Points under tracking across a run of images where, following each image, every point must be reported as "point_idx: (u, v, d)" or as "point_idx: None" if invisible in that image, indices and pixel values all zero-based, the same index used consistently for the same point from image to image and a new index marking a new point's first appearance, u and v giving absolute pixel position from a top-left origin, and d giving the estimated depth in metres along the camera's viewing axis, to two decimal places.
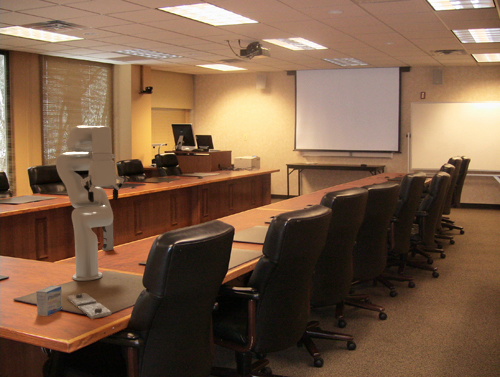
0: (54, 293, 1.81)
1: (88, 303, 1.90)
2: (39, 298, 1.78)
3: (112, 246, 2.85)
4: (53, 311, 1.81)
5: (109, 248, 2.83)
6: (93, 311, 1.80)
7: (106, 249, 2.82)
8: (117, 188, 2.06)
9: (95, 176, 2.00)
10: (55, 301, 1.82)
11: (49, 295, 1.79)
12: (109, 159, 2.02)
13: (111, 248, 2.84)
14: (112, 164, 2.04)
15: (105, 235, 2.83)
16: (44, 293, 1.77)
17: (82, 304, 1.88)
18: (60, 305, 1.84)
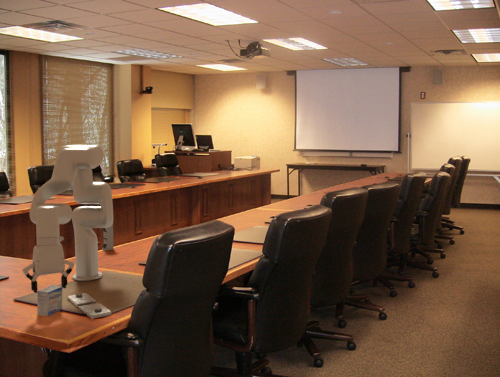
0: (55, 294, 1.81)
1: (88, 303, 1.90)
2: (40, 298, 1.78)
3: (112, 246, 2.85)
4: (53, 311, 1.81)
5: (109, 248, 2.83)
6: (93, 311, 1.80)
7: (106, 249, 2.82)
8: (66, 275, 1.83)
9: (39, 263, 1.76)
10: (56, 301, 1.82)
11: (50, 296, 1.79)
12: (56, 244, 1.78)
13: (111, 248, 2.84)
14: (60, 248, 1.80)
15: (105, 235, 2.83)
16: (45, 293, 1.77)
17: (82, 304, 1.88)
18: (60, 305, 1.84)
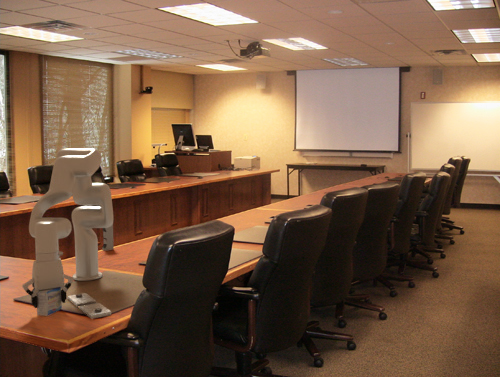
0: (54, 293, 1.81)
1: (88, 303, 1.90)
2: (39, 298, 1.78)
3: (112, 246, 2.85)
4: (53, 311, 1.81)
5: (109, 248, 2.83)
6: (93, 311, 1.80)
7: (106, 249, 2.82)
8: (65, 289, 1.83)
9: (38, 279, 1.77)
10: (55, 301, 1.82)
11: (49, 295, 1.79)
12: (55, 259, 1.79)
13: (111, 248, 2.84)
14: (59, 264, 1.81)
15: (105, 235, 2.83)
16: (44, 293, 1.77)
17: (82, 304, 1.88)
18: (60, 305, 1.84)
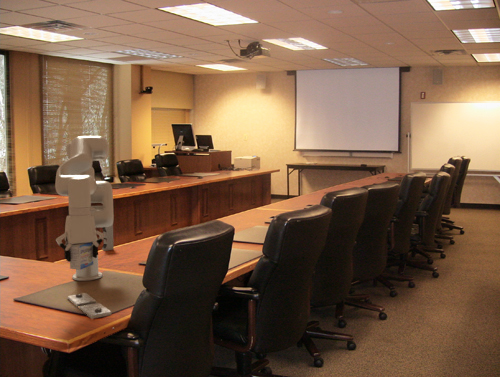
0: (86, 248, 1.85)
1: (88, 303, 1.90)
2: (72, 252, 1.82)
3: (112, 246, 2.85)
4: (85, 265, 1.85)
5: (109, 248, 2.83)
6: (93, 311, 1.80)
7: (106, 249, 2.82)
8: (97, 245, 1.87)
9: (71, 233, 1.81)
10: (87, 255, 1.86)
11: (82, 249, 1.83)
12: (87, 214, 1.82)
13: (111, 248, 2.84)
14: (91, 219, 1.84)
15: (105, 235, 2.83)
16: (77, 247, 1.81)
17: (82, 304, 1.88)
18: (91, 260, 1.88)
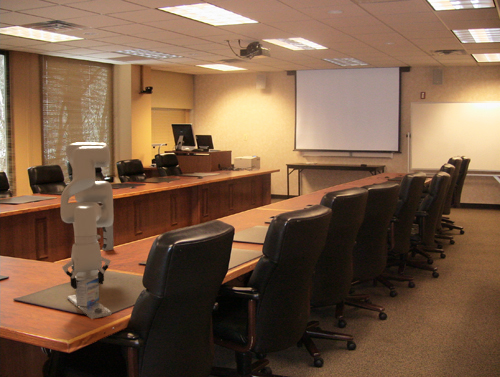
0: (92, 285, 1.87)
1: None
2: (79, 289, 1.84)
3: (112, 246, 2.85)
4: (91, 302, 1.87)
5: (109, 248, 2.83)
6: (93, 311, 1.80)
7: (106, 249, 2.82)
8: (103, 271, 1.90)
9: (78, 261, 1.83)
10: (93, 292, 1.88)
11: (89, 286, 1.85)
12: (93, 242, 1.84)
13: (111, 248, 2.84)
14: (97, 247, 1.86)
15: (105, 235, 2.83)
16: (84, 284, 1.84)
17: None
18: (97, 296, 1.90)
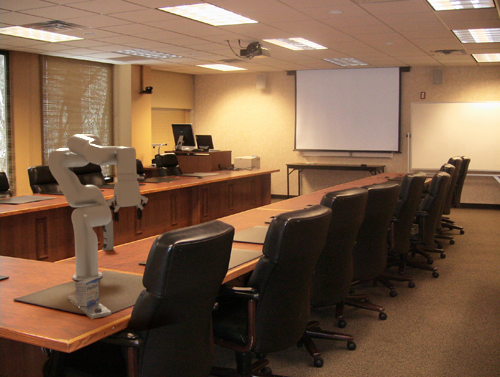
0: (92, 285, 1.87)
1: None
2: (79, 290, 1.84)
3: (112, 246, 2.85)
4: (91, 302, 1.87)
5: (109, 248, 2.83)
6: (93, 311, 1.80)
7: (106, 249, 2.82)
8: (141, 208, 2.09)
9: (120, 196, 2.03)
10: (93, 292, 1.88)
11: (88, 286, 1.85)
12: (134, 179, 2.04)
13: (111, 248, 2.84)
14: (137, 184, 2.06)
15: (105, 235, 2.83)
16: (84, 284, 1.84)
17: None
18: (97, 296, 1.90)
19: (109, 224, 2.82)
